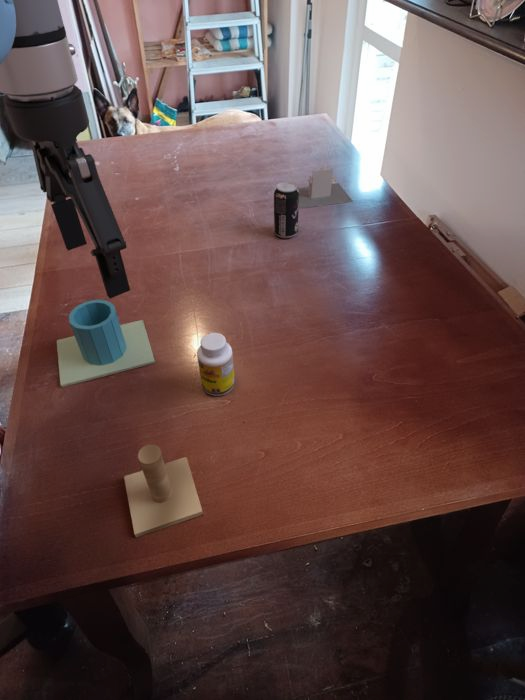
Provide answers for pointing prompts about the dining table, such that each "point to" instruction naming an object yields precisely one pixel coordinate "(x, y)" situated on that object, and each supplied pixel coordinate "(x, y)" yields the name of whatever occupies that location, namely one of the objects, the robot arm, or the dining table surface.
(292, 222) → the beverage can
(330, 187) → the architectural model
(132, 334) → the mat
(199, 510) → the stand
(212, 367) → the supplement bottle
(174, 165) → the dining table surface
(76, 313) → the ring
